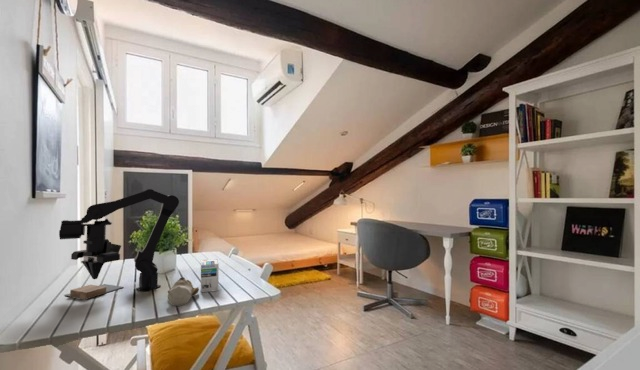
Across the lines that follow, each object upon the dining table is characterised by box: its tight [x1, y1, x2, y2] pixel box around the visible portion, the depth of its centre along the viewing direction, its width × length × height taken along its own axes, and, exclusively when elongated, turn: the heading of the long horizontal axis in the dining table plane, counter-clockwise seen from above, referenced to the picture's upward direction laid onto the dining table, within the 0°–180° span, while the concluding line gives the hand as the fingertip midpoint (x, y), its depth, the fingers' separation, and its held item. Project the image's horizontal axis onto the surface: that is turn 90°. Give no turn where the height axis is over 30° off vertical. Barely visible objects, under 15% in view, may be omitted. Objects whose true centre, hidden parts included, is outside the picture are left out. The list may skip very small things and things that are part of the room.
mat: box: [64, 283, 124, 300], centre depth 114 cm, size 12×14×1 cm
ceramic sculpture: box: [167, 276, 200, 307], centre depth 105 cm, size 11×9×15 cm
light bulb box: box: [200, 258, 219, 293], centre depth 119 cm, size 11×7×11 cm, turn 22°
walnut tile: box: [69, 284, 107, 300], centre depth 110 cm, size 2×7×9 cm
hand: (95, 278), depth 109 cm, fingers closed
